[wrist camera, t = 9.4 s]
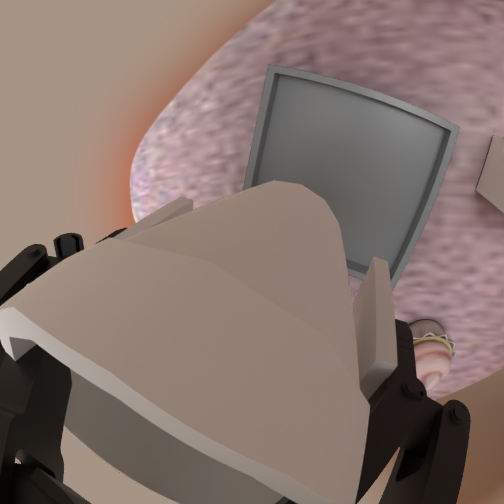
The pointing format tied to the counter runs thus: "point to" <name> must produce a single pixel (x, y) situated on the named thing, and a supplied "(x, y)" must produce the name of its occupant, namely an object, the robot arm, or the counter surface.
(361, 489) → the robot arm
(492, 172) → the milk carton
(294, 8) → the counter surface
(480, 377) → the counter surface
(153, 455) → the foam cup
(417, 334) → the cupcake
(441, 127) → the tray
